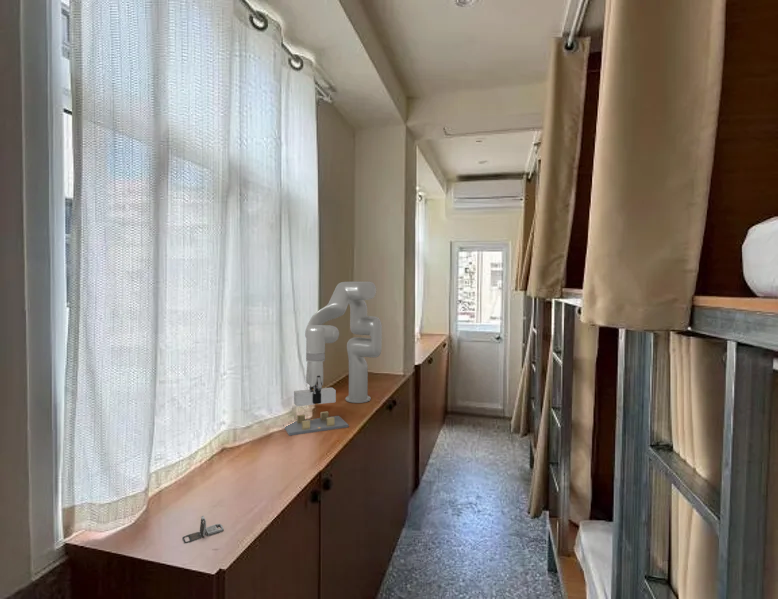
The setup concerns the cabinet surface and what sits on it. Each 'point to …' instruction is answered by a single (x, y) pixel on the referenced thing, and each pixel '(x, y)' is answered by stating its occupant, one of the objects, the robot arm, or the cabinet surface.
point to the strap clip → (204, 531)
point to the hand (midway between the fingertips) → (315, 401)
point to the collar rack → (315, 424)
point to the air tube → (307, 396)
